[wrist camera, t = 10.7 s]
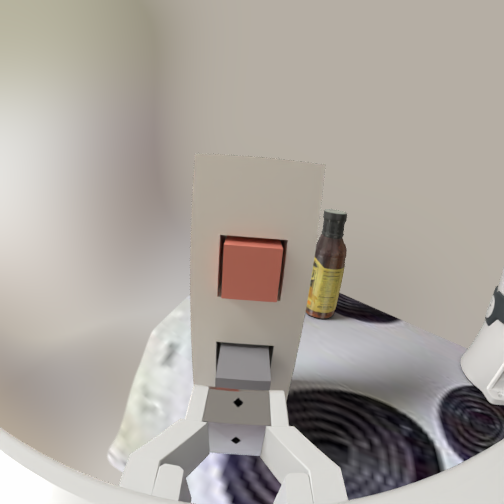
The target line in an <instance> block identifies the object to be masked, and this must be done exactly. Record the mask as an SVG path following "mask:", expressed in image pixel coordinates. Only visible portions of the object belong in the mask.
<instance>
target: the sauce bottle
mask: <svg viewBox="0 0 504 504" xmlns="http://www.w3.org/2000/svg"><path fill="white" fill-rule="evenodd" d="M346 218H347V214H346V212H343V211H339V210H332V209H327V210H325V211H324V225H323V231H322V234H321V237H320V238H319V240H318V242H317V244H316V250H315V257H314V263H313V270H312V276H311V282H310V288H309V294H308V300H307V306H306V313H307V314H308V315H310V316H313V317H315V318H321V319H323V318H324V319H326V318H329V317H331V316H332V315H333V314H334V312H335V309H336V305H337V300H338V296H339V291H340V287H341V282H342V277H343V272H344V265H345V264H344V263H345V258H346V246H345V244H344V242H343V239H342V237H343V235H344V234H343V231H344V224H345V222H346Z"/></svg>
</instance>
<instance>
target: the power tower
mask: <svg viewBox="0 0 504 504" xmlns="http://www.w3.org/2000/svg"><path fill="white" fill-rule="evenodd" d="M324 175H325V164H317V163H309V162H302V161H294V160H285V159H275V158H264V157H252V156H237V155H218V154H195V160H194V175H193V192H192V215H191V254H190V255H191V256H190V306H191V343H192V364H193V382H194V385H202V386H209V387H210V386H212V387H215V377H216V371H217V365H218V359H219V353H220V348H221V342H227V343H239V344H253V345H268V347H269V360H270V373H271V385H270V390H282V391H284V392H285V398H286V401H287V397H288V393H289V388H290V384H291V380H292V375H293V371H294V366H295V362H296V357H297V352H298V347H299V343H300V338H301V333H302V327H303V322H304V317H305V311H306V306H307V300H308V294H309V288H310V282H311V276H312V270H313V263H314V257H315V250H316V243H317V236H318V228H319V220H320V211H321V203H322V195H323V185H324ZM227 235H229V236H242V237H255V238H268V239H280V242H281V245H282V247H283V255H282V263H281V272H280V280H279V288H278V296H277V302H264V301H250V300H237V299H225V298H221V293H222V270H223V250H224V243H225V240H226V238H227Z"/></svg>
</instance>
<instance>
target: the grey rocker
mask: <svg viewBox="0 0 504 504" xmlns="http://www.w3.org/2000/svg"><path fill="white" fill-rule="evenodd" d="M270 385H271V373H270V360H269V347H268V345H253V344H239V343H227V342H221V348H220V353H219V359H218V365H217V371H216V377H215V387H220V388H229V389H244V390H268V391H269V390H270Z"/></svg>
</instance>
